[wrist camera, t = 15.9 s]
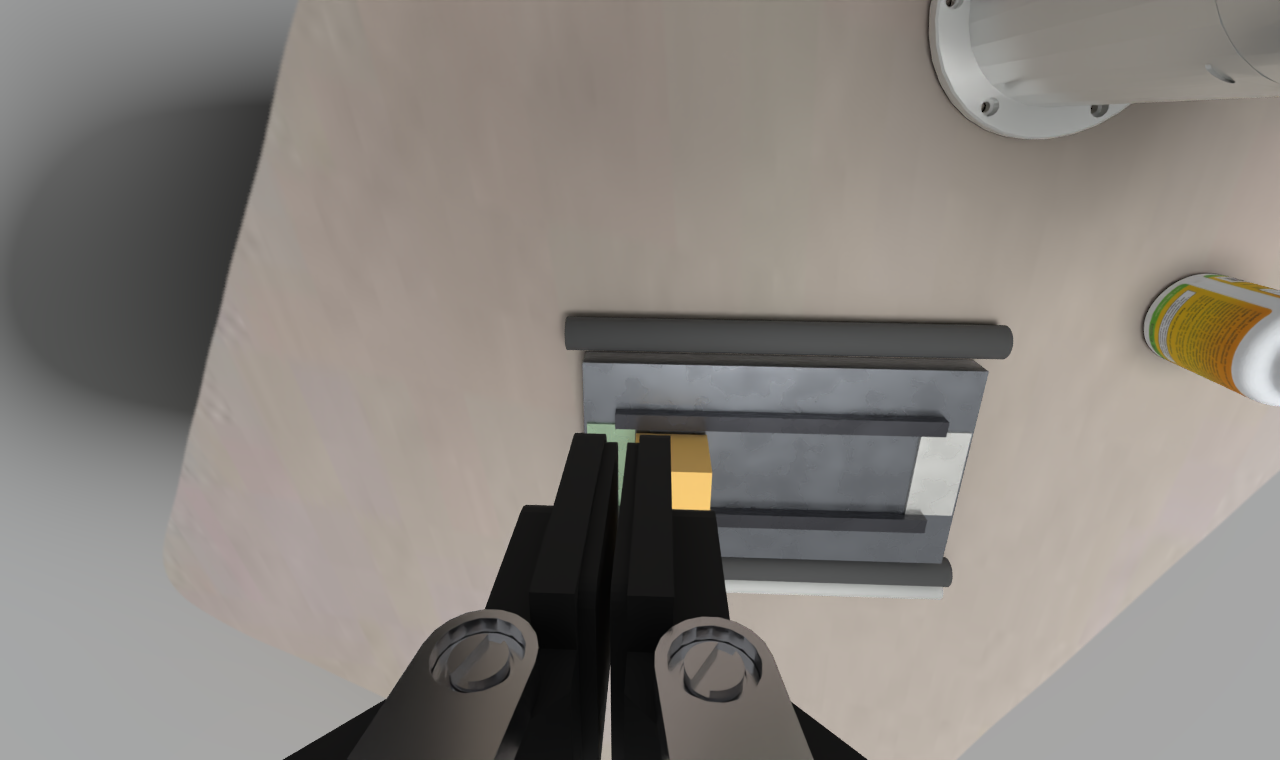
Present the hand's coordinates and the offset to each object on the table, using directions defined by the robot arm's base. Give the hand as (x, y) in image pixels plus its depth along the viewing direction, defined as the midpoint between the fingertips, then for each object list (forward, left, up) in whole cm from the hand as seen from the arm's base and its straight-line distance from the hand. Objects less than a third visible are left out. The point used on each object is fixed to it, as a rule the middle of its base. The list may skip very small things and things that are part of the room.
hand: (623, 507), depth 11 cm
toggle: (-1, +14, -25) cm, 29 cm away
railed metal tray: (-8, +14, -27) cm, 32 cm away
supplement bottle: (-32, +4, -27) cm, 42 cm away
